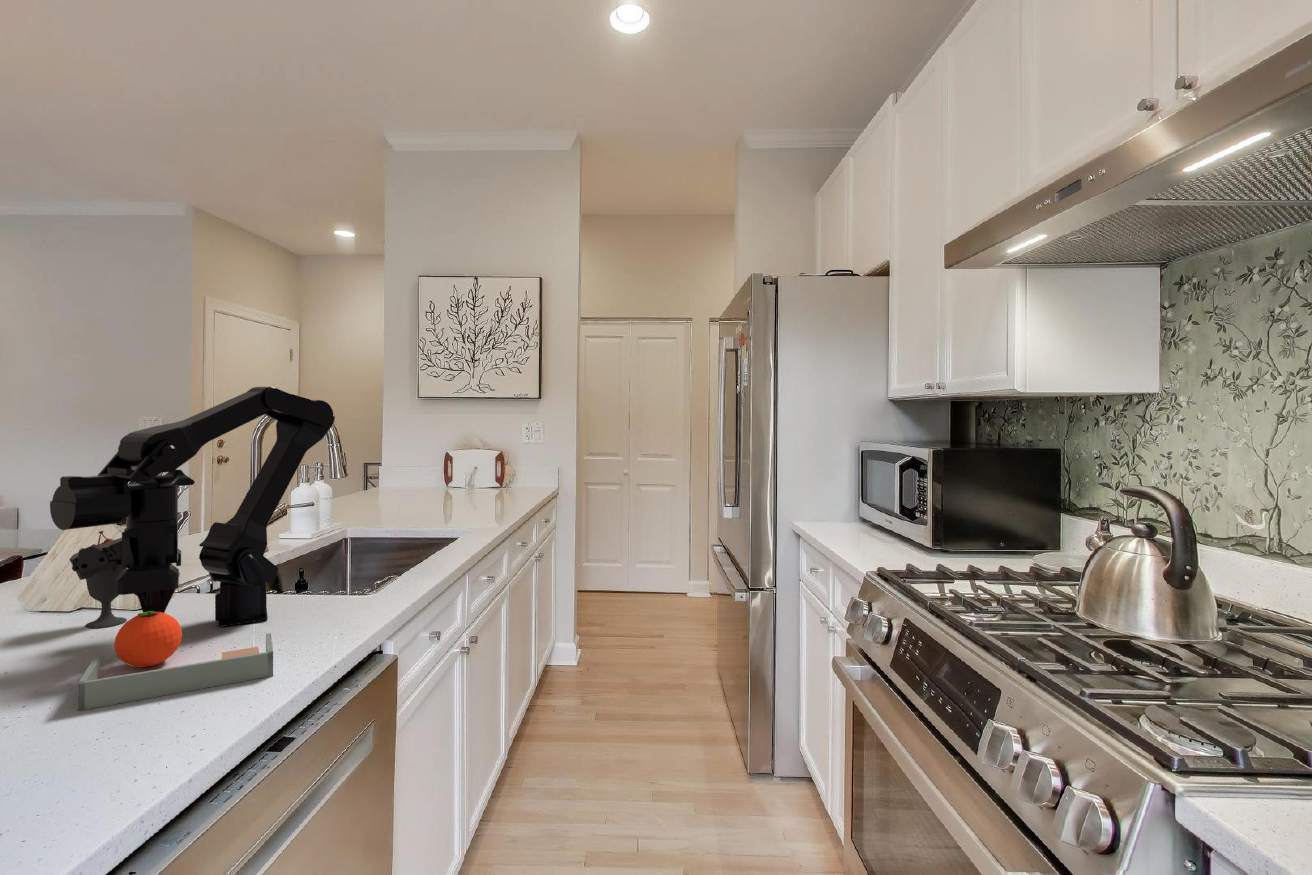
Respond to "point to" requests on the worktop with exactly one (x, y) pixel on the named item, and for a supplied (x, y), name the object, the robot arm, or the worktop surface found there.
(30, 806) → the worktop surface
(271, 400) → the robot arm
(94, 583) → the sundae
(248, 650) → the tile
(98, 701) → the tray
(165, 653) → the clementine
